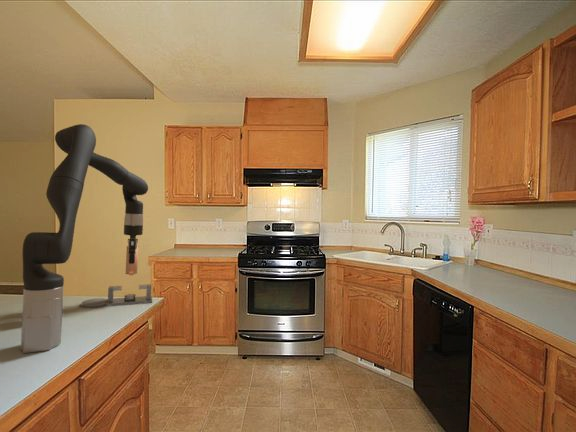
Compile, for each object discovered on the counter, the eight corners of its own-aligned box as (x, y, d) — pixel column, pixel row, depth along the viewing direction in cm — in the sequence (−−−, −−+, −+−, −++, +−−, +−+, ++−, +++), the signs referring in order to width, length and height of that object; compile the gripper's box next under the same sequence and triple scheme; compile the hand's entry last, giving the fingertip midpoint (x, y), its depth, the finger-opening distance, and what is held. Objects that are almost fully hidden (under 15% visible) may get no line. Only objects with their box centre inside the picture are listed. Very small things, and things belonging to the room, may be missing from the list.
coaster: (108, 306, 129) (108, 303, 129) (79, 308, 125) (79, 305, 125) (110, 300, 138) (110, 297, 138) (83, 302, 134) (83, 299, 134)
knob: (124, 275, 132) (126, 246, 132) (125, 271, 140) (127, 244, 140) (136, 275, 134) (138, 246, 134) (137, 271, 142) (138, 244, 142)
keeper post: (152, 302, 137) (152, 287, 137) (105, 306, 130) (106, 289, 130) (151, 298, 145) (152, 283, 145) (107, 301, 137) (108, 285, 137)
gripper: (124, 223, 142) (123, 260, 142) (123, 224, 129) (121, 265, 129) (142, 223, 145) (141, 260, 145) (143, 225, 132) (141, 264, 132)
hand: (131, 262), depth 137 cm, fingers closed on knob, 4 cm apart
